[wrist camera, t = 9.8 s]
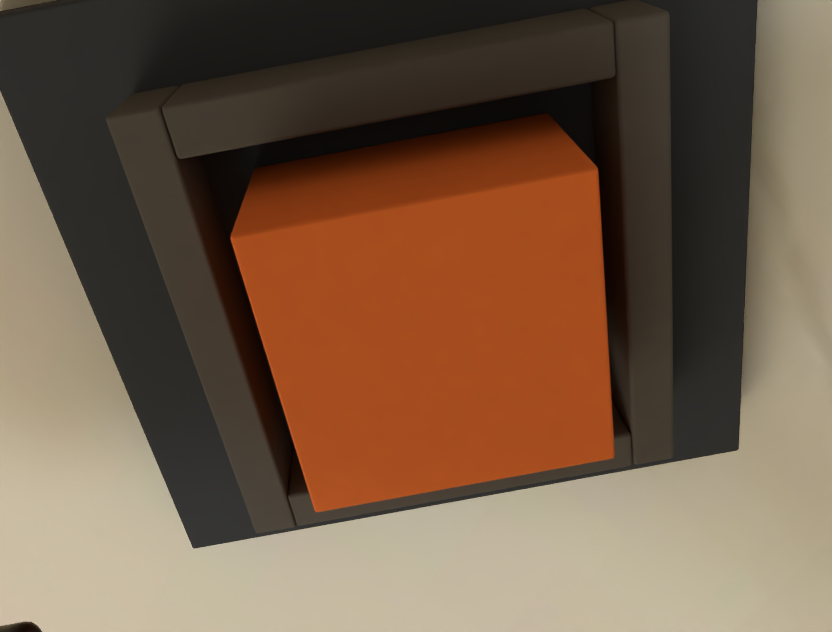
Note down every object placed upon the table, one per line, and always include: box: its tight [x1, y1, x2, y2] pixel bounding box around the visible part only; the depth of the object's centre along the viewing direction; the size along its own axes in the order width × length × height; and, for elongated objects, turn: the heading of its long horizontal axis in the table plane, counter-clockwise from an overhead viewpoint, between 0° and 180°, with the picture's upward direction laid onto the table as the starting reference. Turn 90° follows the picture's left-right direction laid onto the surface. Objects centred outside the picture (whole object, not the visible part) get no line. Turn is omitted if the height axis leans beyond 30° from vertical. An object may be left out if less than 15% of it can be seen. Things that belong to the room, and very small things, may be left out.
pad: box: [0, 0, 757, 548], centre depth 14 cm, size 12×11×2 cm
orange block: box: [230, 113, 615, 512], centre depth 13 cm, size 5×5×3 cm
